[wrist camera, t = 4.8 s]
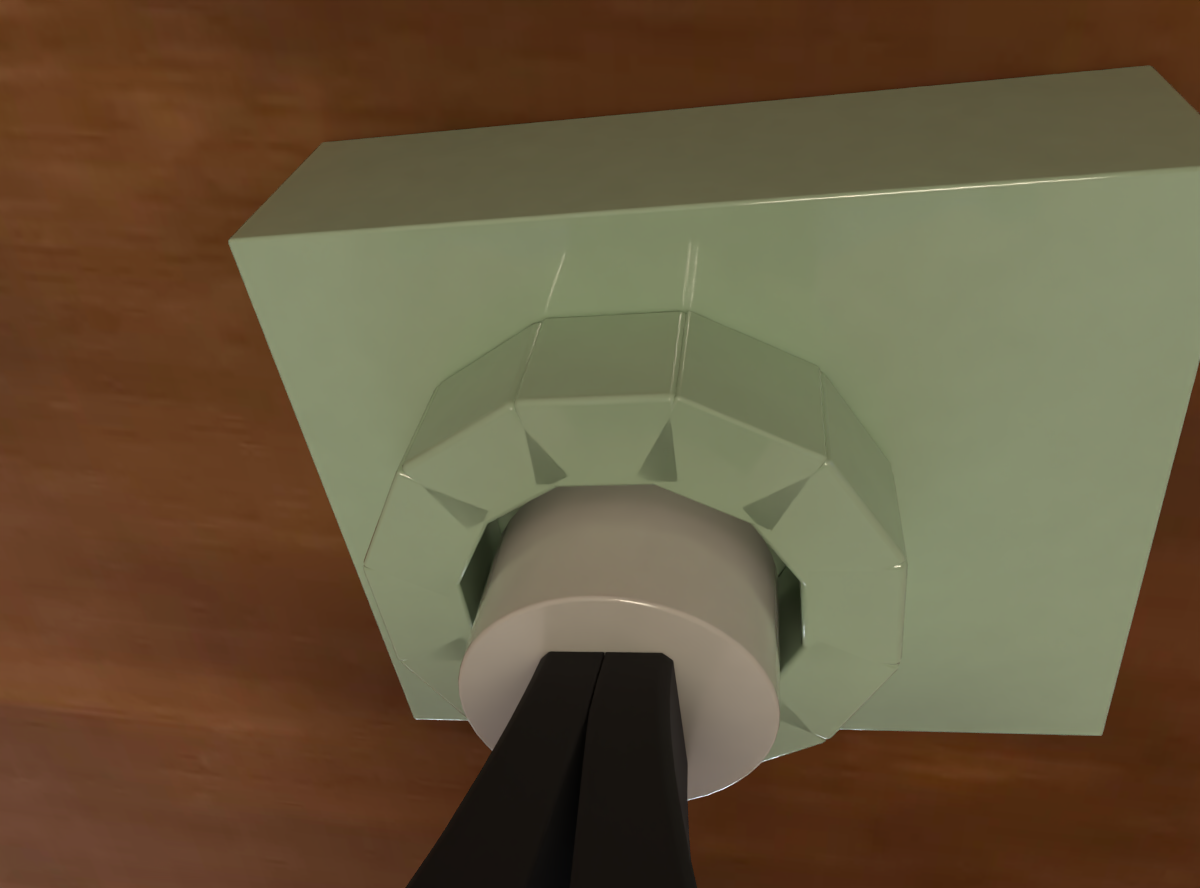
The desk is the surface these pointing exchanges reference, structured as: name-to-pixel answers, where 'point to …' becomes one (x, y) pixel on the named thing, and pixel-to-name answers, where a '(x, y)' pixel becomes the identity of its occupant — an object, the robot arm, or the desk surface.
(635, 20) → the desk surface
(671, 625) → the beige button cap
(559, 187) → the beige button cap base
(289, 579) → the desk surface
